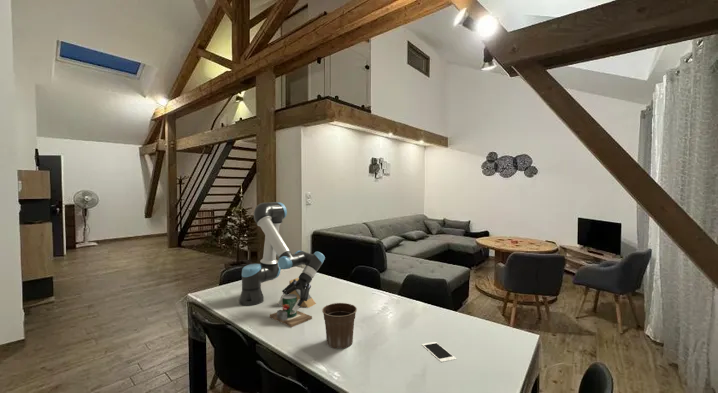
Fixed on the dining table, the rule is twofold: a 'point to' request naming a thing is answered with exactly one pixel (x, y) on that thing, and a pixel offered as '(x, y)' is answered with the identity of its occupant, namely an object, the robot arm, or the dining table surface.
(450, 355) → the cell phone
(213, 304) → the dining table surface
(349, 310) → the plant pot
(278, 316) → the walnut board
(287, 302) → the canned tomato
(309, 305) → the sandwich container
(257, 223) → the robot arm
